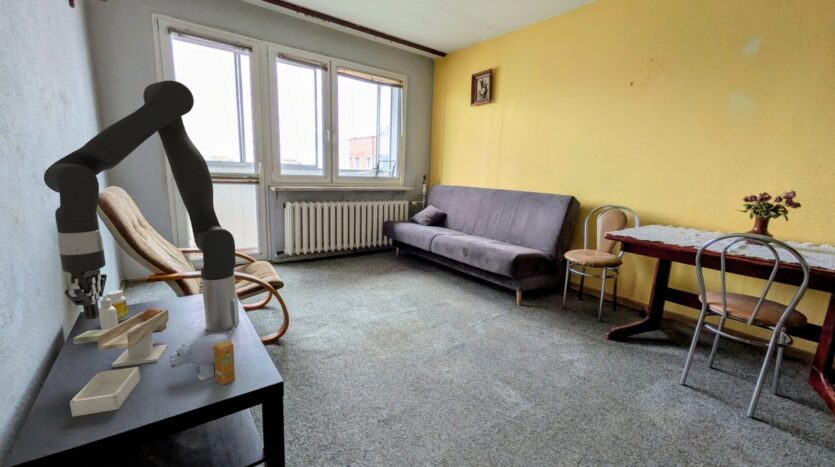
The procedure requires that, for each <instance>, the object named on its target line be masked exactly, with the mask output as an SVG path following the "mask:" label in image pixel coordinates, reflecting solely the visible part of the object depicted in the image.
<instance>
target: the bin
mask: <svg viewBox="0 0 835 467" xmlns="http://www.w3.org/2000/svg"><path fill="white" fill-rule="evenodd" d="M140 381H141V374H140V366H135V367H127V368H121V369H112V370H111V369H110V370H104V371H98V372H97V373H96V374H95V375H94V376H93V377H92V378H91V379H90V380H89V381H88V382H87V383H86V385H84V387H82V389H81V390H80V391H79V392H77V394H76V395H75V396H74V397H73V398H72V399H71V400H70V401H69V406H70V410H71V416H72V418H73V417H78V416H79V417H80V416H85V415H91V414H98V413H103V412H111V411H115V410H116V411H117V410H120V408H121V407H122V406H123V404H124V403H125V401H126V400H127V399H128V397H129V396H130V394H132V392H133V391H134V389H135V388H136V386H137V385H138V384H139V382H140Z"/></svg>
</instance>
